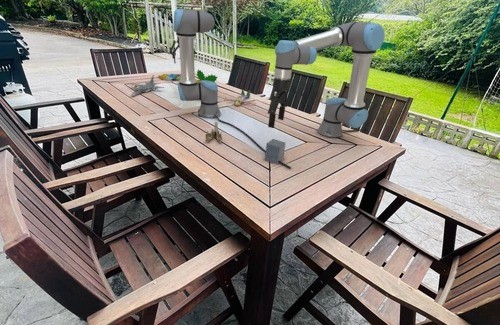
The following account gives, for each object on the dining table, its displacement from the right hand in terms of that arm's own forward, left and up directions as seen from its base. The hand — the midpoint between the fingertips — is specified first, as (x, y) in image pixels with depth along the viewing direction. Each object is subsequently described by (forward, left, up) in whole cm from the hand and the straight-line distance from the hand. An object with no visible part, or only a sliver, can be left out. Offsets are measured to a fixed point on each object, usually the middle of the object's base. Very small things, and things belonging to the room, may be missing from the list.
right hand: (276, 123), depth 127 cm
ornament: (+2, -149, -19) cm, 150 cm away
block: (0, +3, -19) cm, 19 cm away
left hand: (+27, -117, +9) cm, 120 cm away
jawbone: (+24, -28, -19) cm, 41 cm away
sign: (+29, -193, -19) cm, 196 cm away
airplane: (+58, -141, -19) cm, 153 cm away
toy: (-17, -98, -19) cm, 101 cm away
